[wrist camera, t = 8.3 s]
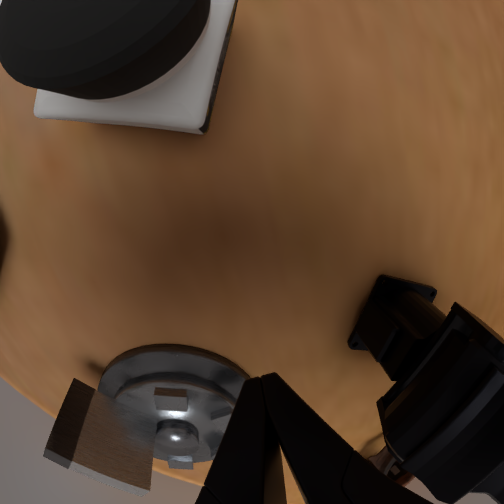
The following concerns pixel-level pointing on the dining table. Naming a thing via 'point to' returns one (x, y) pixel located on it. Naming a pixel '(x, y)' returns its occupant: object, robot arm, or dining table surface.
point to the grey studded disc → (139, 428)
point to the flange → (172, 367)
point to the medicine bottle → (119, 59)
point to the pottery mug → (391, 467)
